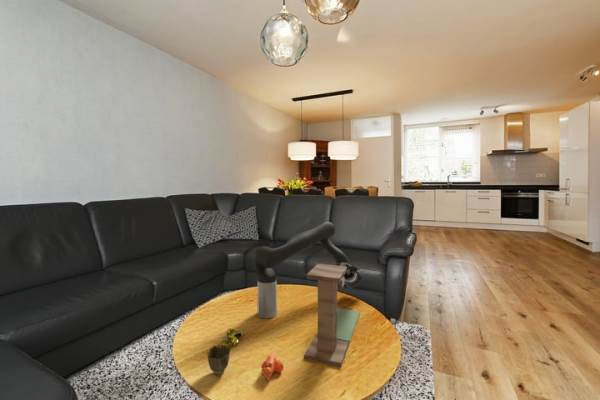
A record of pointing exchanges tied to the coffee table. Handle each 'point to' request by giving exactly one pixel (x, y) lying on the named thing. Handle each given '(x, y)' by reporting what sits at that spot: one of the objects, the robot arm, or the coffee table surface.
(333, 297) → the stand
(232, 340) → the toy motorcycle
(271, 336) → the coffee table surface
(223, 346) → the cup
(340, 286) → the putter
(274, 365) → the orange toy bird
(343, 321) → the mat
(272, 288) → the robot arm
